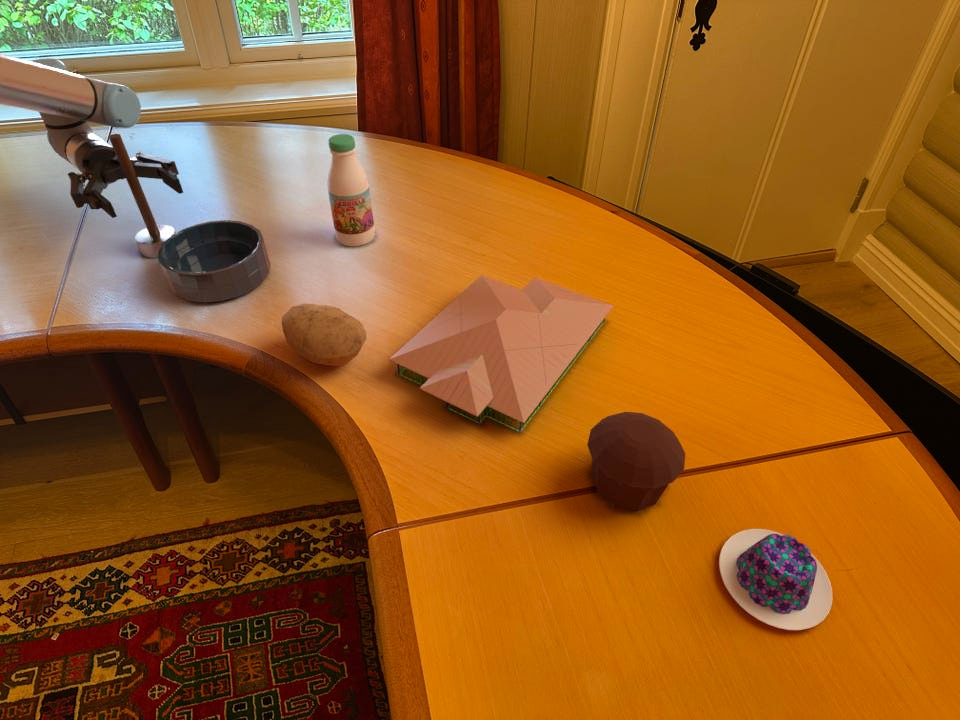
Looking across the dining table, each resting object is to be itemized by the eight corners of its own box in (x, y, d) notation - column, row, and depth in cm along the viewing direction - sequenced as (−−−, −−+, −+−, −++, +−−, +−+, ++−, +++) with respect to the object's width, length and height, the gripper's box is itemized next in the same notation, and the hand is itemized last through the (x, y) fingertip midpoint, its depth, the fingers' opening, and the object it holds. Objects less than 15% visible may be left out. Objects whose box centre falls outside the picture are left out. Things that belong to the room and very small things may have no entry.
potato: (312, 323, 101) (302, 284, 95) (382, 349, 96) (377, 310, 90) (271, 358, 94) (259, 319, 89) (345, 388, 90) (337, 349, 84)
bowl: (151, 300, 105) (137, 269, 100) (200, 246, 117) (189, 216, 113) (246, 310, 103) (236, 279, 98) (285, 254, 115) (278, 224, 111)
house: (379, 386, 90) (373, 345, 84) (494, 277, 110) (495, 239, 105) (512, 452, 81) (515, 411, 76) (610, 321, 102) (618, 281, 96)
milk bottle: (331, 231, 122) (314, 133, 108) (368, 223, 124) (356, 126, 110) (342, 250, 117) (324, 150, 103) (380, 242, 119) (368, 143, 105)
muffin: (684, 470, 79) (704, 420, 72) (657, 535, 72) (676, 486, 65) (600, 434, 84) (611, 383, 77) (566, 492, 77) (575, 442, 70)
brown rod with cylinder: (133, 255, 115) (82, 142, 100) (153, 236, 120) (107, 126, 105) (167, 259, 114) (121, 146, 99) (186, 239, 119) (145, 129, 104)
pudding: (697, 578, 68) (709, 554, 65) (748, 514, 74) (762, 489, 71) (800, 657, 62) (820, 636, 59) (847, 580, 68) (868, 557, 65)
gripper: (162, 159, 127) (214, 194, 116) (40, 198, 114) (85, 242, 103) (149, 123, 121) (202, 156, 111) (19, 160, 109) (65, 202, 98)
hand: (146, 198), depth 107 cm, fingers open, 11 cm apart
